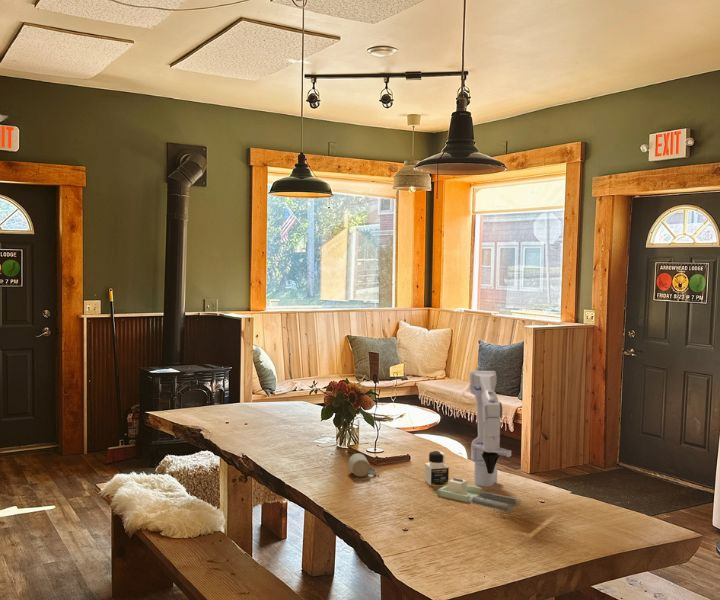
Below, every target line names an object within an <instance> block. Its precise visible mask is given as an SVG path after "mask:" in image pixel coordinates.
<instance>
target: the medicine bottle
mask: <svg viewBox="0 0 720 600" xmlns="http://www.w3.org/2000/svg"><path fill="white" fill-rule="evenodd" d="M428 454H429V455H428V462H425V463H424V482H425V483H427V484H428V485H429V486H430V487H440V485H443V486H445V485H447V484H448V481H449V474H450V473H449V471H450V467H449V466H448V465H446V454H445V452H443V451H440V450H434V451H433V450H432V451H430V452H429V453H428Z"/></svg>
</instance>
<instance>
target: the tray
mask: <svg viewBox="0 0 720 600" xmlns="http://www.w3.org/2000/svg"><path fill="white" fill-rule="evenodd" d="M482 491H483V487H482V486H477V485H470V484H467V494H466V495H464V494H459V493H455V492H450V491H448V484H447V485H443V486H441V487H440V488H438V489H437V491H436V497H442V498H447V499H451V500H456V501H460V502H463V503H464V502H465V503H468V501H470V500H472V497H477V496H478V495H480V494H481V492H482Z"/></svg>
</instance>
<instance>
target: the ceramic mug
mask: <svg viewBox="0 0 720 600" xmlns="http://www.w3.org/2000/svg"><path fill="white" fill-rule="evenodd" d="M349 457H350V458H349V459H348V461H347V462H348V464H347V465H348V467H349V470H350V471H351V473H352V474H353V475H354V476H356V477H357V478H364V477H366V476H367V475H368V474H369V475H372V476H375V475H376V474H377V472H378V471H377V470H376V468H374V467H372V466H371V465H370V463H369V461H368V459H367V457H366V456H365V455H364V454H362V453H353V454H352V455H351V456H349Z"/></svg>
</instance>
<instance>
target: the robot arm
mask: <svg viewBox="0 0 720 600" xmlns="http://www.w3.org/2000/svg"><path fill="white" fill-rule="evenodd" d="M496 386H497V373H496V371H495V370H471V371H470V372H469V390H470V393H471V394H472V395H473V396H474V397H475V401H476V403H475V404H476V419H477V437H476V438H474V439H473V440H472V441H471V445H470V446H471V447H470V459H471V461H472V462H473V463H474V477H473V478H474V479H473V481H474V482H473V483H474V485H475V486H477V487H491V486H492V487H493V486H494V484H497V485H499V484H500V482H498V465H497V462H498V461H499V459H500V457H501V456H504V457H507V458H510V457H511V456H512V450H510V449H506V448H503V447H500V442H501V437H500V436H501V419H502V418H503V404H502V402H501V401H499V399H498V395H497V393H496V391H495V390H496Z"/></svg>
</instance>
